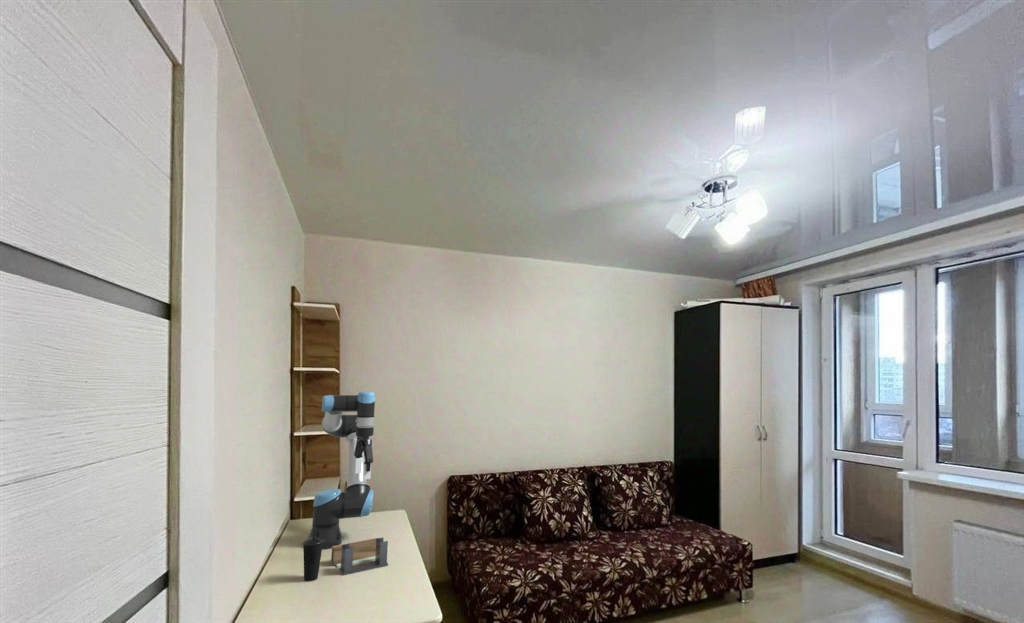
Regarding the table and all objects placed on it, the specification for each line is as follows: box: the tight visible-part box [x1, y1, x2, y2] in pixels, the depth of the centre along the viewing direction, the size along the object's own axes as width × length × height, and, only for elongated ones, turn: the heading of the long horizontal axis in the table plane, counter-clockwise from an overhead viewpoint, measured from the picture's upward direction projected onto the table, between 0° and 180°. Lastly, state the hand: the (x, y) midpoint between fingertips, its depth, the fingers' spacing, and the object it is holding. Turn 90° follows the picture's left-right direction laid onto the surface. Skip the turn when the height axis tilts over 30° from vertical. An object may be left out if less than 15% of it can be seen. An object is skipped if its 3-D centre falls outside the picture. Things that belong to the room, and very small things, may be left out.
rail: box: [330, 537, 378, 566], centre depth 201 cm, size 4×20×6 cm, turn 124°
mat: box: [335, 556, 375, 569], centre depth 201 cm, size 9×18×1 cm, turn 124°
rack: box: [338, 536, 389, 576], centre depth 193 cm, size 6×18×10 cm, turn 124°
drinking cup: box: [302, 524, 324, 582], centre depth 183 cm, size 8×8×20 cm
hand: (362, 476), depth 209 cm, fingers open, 13 cm apart
